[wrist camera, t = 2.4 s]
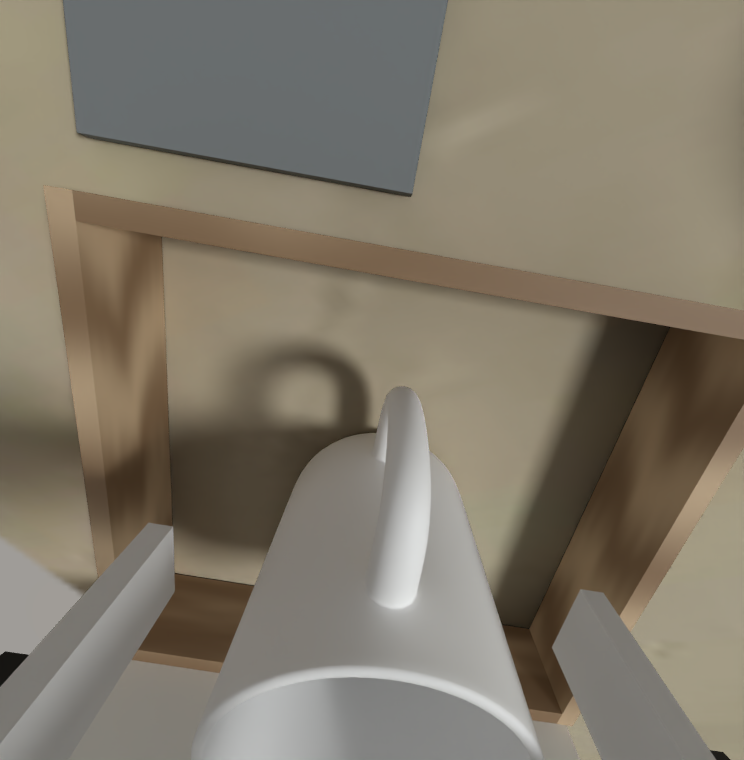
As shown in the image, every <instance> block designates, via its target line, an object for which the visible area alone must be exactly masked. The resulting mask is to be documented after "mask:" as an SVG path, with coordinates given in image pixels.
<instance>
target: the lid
mask: <svg viewBox="0 0 744 760" xmlns="http://www.w3.org/2000/svg"><path fill="white" fill-rule="evenodd" d="M218 675H219V673H215V672H208V671H201V670H195V669H188V668H182V667H175V666H168V665H162V664H155V663H148V662H142V661H135V660H131V661H130V663H129V665H128V666H127V668H126V669H125V671H124V672H123V674H122V676H121V677H120V679H119V680H118V682H117V684H116V685H115V687H114V688H113V690H112V691H111V693H110V695H109V696H108V698H107V699H106V701H105V702H104V704H103V706H102V707H101V709H100V710H99V712H98V714H97V715H96V717H95V718H94V720H93V721H92V723H91V725H90V726H89V728H88V729H87V731H86V732H85V734H84V736H83V737H82V739H81V740H80V742H79V744H78V745H77V747H76V748H75V750H74V751H73V753H72V755H71V756H70V758H69V759H68V760H191V748H192V743H193V738H194V736H195V733H196V730H197V728H198V725H199V723H200V720H201V718H202V715H203V713H204V710H205V708H206V705H207V703H208V700H209V698H210V695H211V693H212V690H213V688H214V685H215V683H216V680H217V678H218ZM532 721H533V724H534V728H535V731H536V734H537V737H538V740H539V743H540V746H541V750H542V753H543V756H544V760H580V759H579V756H578V754H577V751H576V748H575V746H574V743H573V741H572V738H571V736H570V733H569V730H568V728H567V725H560V724H554V723H547V722H541V721H534V720H532Z"/></svg>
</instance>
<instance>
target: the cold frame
mask: <svg viewBox="0 0 744 760" xmlns="http://www.w3.org/2000/svg"><path fill="white" fill-rule="evenodd" d="M43 186H44V194H45V201H46V208H47V215H48V222H49V229H50V237H51V244H52V251H53V258H54V265H55V273H56V280H57V287H58V294H59V301H60V308H61V316H62V323H63V330H64V337H65V344H66V351H67V359H68V366H69V373H70V380H71V387H72V395H73V402H74V409H75V416H76V423H77V430H78V438H79V445H80V452H81V459H82V466H83V474H84V481H85V488H86V495H87V502H88V509H89V517H90V524H91V531H92V538H93V545H94V553H95V560H96V567H97V574H98V578H99V577H100V576H101V575H102V574H103V573H104V572H105V570H106V569H107V568H108V567H109V566H110V565H111V564H112V563H113V562H114V560H115V559H116V558H117V557H118V556H119V555H120V554H121V553H122V552H123V550H124V549H125V548H126V547H127V546H128V545H129V544H130V543H131V542H132V541H133V539H134V538H135V537H136V536H137V535H138V534H139V533H140V532H141V531H142V529H143V528H144V527H145V526H146V525H147V524H148V523H154V524H160V525H167V526H173V524H172V497H171V471H170V444H169V417H168V391H167V364H166V337H165V310H164V284H163V257H162V237H168V238H174V239H179V240H185V241H190V242H196V243H202V244H207V245H213V246H219V247H224V248H230V249H235V250H241V251H247V252H252V253H258V254H264V255H269V256H275V257H281V258H286V259H292V260H297V261H303V262H309V263H314V264H320V265H326V266H331V267H337V268H343V269H348V270H354V271H359V272H365V273H371V274H376V275H382V276H388V277H393V278H399V279H405V280H410V281H416V282H421V283H427V284H433V285H438V286H444V287H450V288H455V289H461V290H466V291H472V292H478V293H483V294H489V295H495V296H500V297H506V298H512V299H517V300H523V301H528V302H534V303H540V304H545V305H551V306H557V307H562V308H568V309H574V310H579V311H585V312H590V313H596V314H602V315H607V316H613V317H619V318H624V319H630V320H635V321H641V322H647V323H652V324H658V325H664V326H669V327H670V329H669V331H668V333H667V335H666V337H665V340H664V342H663V344H662V346H661V348H660V350H659V352H658V355H657V357H656V359H655V361H654V363H653V365H652V367H651V370H650V372H649V374H648V376H647V378H646V380H645V382H644V385H643V387H642V389H641V391H640V393H639V395H638V397H637V400H636V402H635V404H634V406H633V408H632V410H631V412H630V415H629V417H628V419H627V421H626V423H625V425H624V427H623V430H622V432H621V434H620V436H619V438H618V440H617V442H616V445H615V447H614V449H613V451H612V453H611V455H610V457H609V460H608V462H607V464H606V466H605V468H604V470H603V472H602V475H601V477H600V479H599V481H598V483H597V485H596V487H595V490H594V492H593V494H592V496H591V498H590V500H589V502H588V504H587V507H586V509H585V511H584V513H583V515H582V517H581V519H580V522H579V524H578V526H577V528H576V530H575V532H574V534H573V537H572V539H571V541H570V543H569V545H568V547H567V549H566V552H565V554H564V556H563V558H562V560H561V562H560V564H559V567H558V569H557V571H556V573H555V575H554V577H553V579H552V582H551V584H550V586H549V588H548V590H547V592H546V594H545V597H544V599H543V601H542V603H541V605H540V607H539V609H538V612H537V614H536V616H535V618H534V620H533V622H532V624H531V627H530V629H525V628H519V627H512V626H506V625H502V627H503V630H504V633H505V637H506V640H507V643H508V646H509V649H510V652H511V655H512V658H513V662H514V665H515V668H516V671H517V674H518V677H519V680H520V684H521V687H522V690H523V693H524V696H525V699H526V702H527V706H528V709H529V712H530V715H531V718H532V720H534V721H541V722H547V723H554V724H560V725H567V726H573V725H574V723H575V722H576V720H577V718H578V717H579V715H580V713H581V712H580V710H579V707H578V705H577V703H576V701H575V698H574V696H573V694H572V692H571V689H570V687H569V685H568V683H567V680H566V678H565V676H564V674H563V671H562V669H561V667H560V665H559V662H558V660H557V658H556V656H555V653H554V651H553V649H552V646H553V644H554V642H555V640H556V638H557V636H558V634H559V632H560V630H561V628H562V626H563V624H564V622H565V620H566V618H567V615H568V613H569V611H570V609H571V607H572V605H573V603H574V601H575V599H576V597H577V595H578V593H579V591H580V589H583V590H589V591H596V592H602V593H604V594H605V596H606V597H607V599H608V600H609V602H610V603H611V605H612V606H613V608H614V609H615V611H616V612H617V614H618V615H619V617H620V618H621V620H622V621H623V622H624V624H625V625H626V627H627V628H628V630H629V631H630V632H631V630H632V629H633V627H634V625H635V624H636V622H637V621H638V619H639V617H640V616H641V614H642V612H643V611H644V609H645V608H646V606H647V604H648V603H649V601H650V599H651V598H652V596H653V595H654V593H655V591H656V590H657V588H658V586H659V585H660V583H661V582H662V580H663V578H664V577H665V575H666V573H667V572H668V570H669V568H670V567H671V565H672V564H673V562H674V560H675V559H676V557H677V555H678V554H679V552H680V551H681V549H682V547H683V546H684V544H685V542H686V541H687V539H688V538H689V536H690V534H691V533H692V531H693V529H694V528H695V526H696V525H697V523H698V521H699V520H700V518H701V516H702V515H703V513H704V511H705V510H706V508H707V507H708V505H709V503H710V502H711V500H712V498H713V497H714V495H715V494H716V492H717V490H718V489H719V487H720V485H721V484H722V482H723V481H724V479H725V477H726V476H727V474H728V472H729V471H730V469H731V468H732V466H733V464H734V463H735V461H736V459H737V458H738V456H739V455H740V453H741V451H742V450H743V448H744V311H743V310H738V309H732V308H727V307H721V306H715V305H710V304H704V303H699V302H693V301H687V300H682V299H676V298H671V297H665V296H660V295H654V294H648V293H643V292H637V291H632V290H626V289H621V288H615V287H609V286H604V285H598V284H593V283H587V282H582V281H576V280H570V279H565V278H559V277H554V276H548V275H543V274H537V273H531V272H526V271H520V270H515V269H509V268H504V267H498V266H492V265H487V264H481V263H476V262H470V261H465V260H459V259H453V258H448V257H442V256H437V255H431V254H426V253H420V252H414V251H409V250H403V249H398V248H392V247H386V246H381V245H375V244H370V243H364V242H359V241H353V240H347V239H342V238H336V237H331V236H325V235H320V234H314V233H308V232H303V231H297V230H292V229H286V228H281V227H275V226H269V225H264V224H258V223H253V222H247V221H242V220H236V219H230V218H225V217H219V216H214V215H208V214H203V213H197V212H191V211H186V210H180V209H175V208H169V207H164V206H158V205H152V204H147V203H141V202H136V201H130V200H125V199H119V198H113V197H108V196H102V195H97V194H91V193H85V192H80V191H74V190H69V189H63V188H58V187H52V186H46V185H43ZM174 577H175V592H174V594H173V595H172V597H171V598H170V600H169V601H168V603H167V605H166V606H165V608H164V609H163V611H162V612H161V614H160V616H159V617H158V619H157V620H156V622H155V624H154V625H153V627H152V628H151V630H150V631H149V633H148V635H147V636H146V638H145V639H144V641H143V642H142V644H141V646H140V647H139V649H138V650H137V652H136V654H135V655H134V657H133V658H132V660H135V661H142V662H148V663H155V664H162V665H168V666H175V667H182V668H188V669H195V670H201V671H208V672H215V673H220V670H221V668H222V665H223V663H224V660H225V658H226V655H227V653H228V650H229V648H230V645H231V643H232V640H233V638H234V635H235V633H236V630H237V628H238V625H239V623H240V620H241V618H242V615H243V613H244V610H245V608H246V606H247V603H248V601H249V598H250V596H251V593H252V591H253V588H254V586H250V585H244V584H237V583H231V582H224V581H218V580H212V579H205V578H199V577H193V576H186V575H180V574H174Z"/></svg>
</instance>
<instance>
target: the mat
mask: <svg viewBox="0 0 744 760" xmlns="http://www.w3.org/2000/svg"><path fill="white" fill-rule="evenodd" d="M447 3H448V0H63V5H64V15H65V24H66V34H67V43H68V53H69V62H70V72H71V81H72V91H73V100H74V110H75V119H76V129H77V133H80V134H82V135H84V136H87V137H89V138H93V139H99V140H104V141H109V142H115V143H120V144H126V145H131V146H137V147H142V148H148V149H153V150H159V151H164V152H170V153H175V154H181V155H186V156H192V157H197V158H202V159H208V160H213V161H219V162H224V163H230V164H235V165H241V166H246V167H252V168H257V169H263V170H268V171H274V172H279V173H284V174H290V175H295V176H301V177H306V178H312V179H317V180H323V181H328V182H334V183H339V184H345V185H350V186H356V187H361V188H366V189H372V190H377V191H383V192H388V193H394V194H399V195H405V196H410V197H411V195H412V192H413V187H414V181H415V176H416V170H417V165H418V160H419V154H420V149H421V143H422V138H423V133H424V127H425V122H426V116H427V111H428V105H429V100H430V95H431V89H432V84H433V78H434V73H435V68H436V62H437V57H438V51H439V46H440V41H441V35H442V30H443V24H444V19H445V13H446V8H447Z"/></svg>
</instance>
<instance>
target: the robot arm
mask: <svg viewBox="0 0 744 760" xmlns="http://www.w3.org/2000/svg"><path fill="white" fill-rule="evenodd" d="M174 592H175V577H174V537H173V526H167V525H160V524H154V523H148V524H147V525H146V526H145V527H144V528H143V529H142V531H141V532H140V533H139V534H138V535H137V536H136V537H135V538H134V539H133V541H132V542H131V543H130V544H129V545H128V546H127V547H126V548H125V549H124V550H123V552H122V553H121V554H120V555H119V556H118V557H117V558H116V559H115V560H114V562H113V563H112V564H111V565H110V566H109V567H108V568H107V569H106V570H105V572H104V573H103V574H102V575H101V576H100V577H99V578H98V579H97V580H96V581H95V583H94V584H93V585H92V586H91V587H90V588H89V589H88V590H87V591H86V593H85V594H84V595H83V596H82V597H81V598H80V599H79V601H77V603H76V604H75V605H74V606H73V607H72V608H71V609H70V610H69V611H68V612H67V614H66V615H65V616H64V617H63V618H62V619H61V620H60V621H59V623H58V624H57V625H56V626H55V627H54V628H53V629H52V630H51V631H50V632H49V634H48V635H47V636H46V637H45V638H44V639H43V640H42V641H41V642H40V644H39V645H38V646H37V647H36V648H35V649H34V650H33V652H32V653H31V654H30V655H26V654H19V653H12V652H4V653H3V654H1V655H0V760H68V759H69V758H70V756H71V755H72V753H73V751H74V750H75V748H76V747H77V745H78V744H79V742H80V740H81V739H82V737H83V736H84V734H85V732H86V731H87V729H88V728H89V726H90V725H91V723H92V721H93V720H94V718H95V717H96V715H97V714H98V712H99V710H100V709H101V707H102V706H103V704H104V702H105V701H106V699H107V698H108V696H109V695H110V693H111V691H112V690H113V688H114V687H115V685H116V684H117V682H118V680H119V679H120V677H121V676H122V674H123V672H124V671H125V669H126V668H127V666H128V665H129V663H130V661H131V660H132V658H133V657H134V655H135V654H136V652H137V650H138V649H139V647H140V646H141V644H142V642H143V641H144V639H145V638H146V636H147V635H148V633H149V631H150V630H151V628H152V627H153V625H154V624H155V622H156V620H157V619H158V617H159V616H160V614H161V612H162V611H163V609H164V608H165V606H166V605H167V603H168V601H169V600H170V598H171V597H172V595H173V594H174ZM552 649H553V651H554V653H555V656H556V658H557V660H558V662H559V665H560V667H561V669H562V671H563V674H564V676H565V678H566V680H567V683H568V685H569V687H570V689H571V692H572V694H573V696H574V698H575V701H576V703H577V705H578V707H579V710H580V712H581V714H582V716H583V719H584V721H585V723H586V725H587V728H588V730H589V732H590V734H591V737H592V739H593V741H594V743H595V746H596V748H597V750H598V752H599V755H600V757H601V759H602V760H730V759H729V758H728V757H727V756H726V755H725V754H724V753H723V752H718V751H711V750H709V748H708V747H707V745H706V744H705V742H704V741H703V739H702V738H701V736H700V735H699V734H698V732H697V731H696V729H695V728H694V726H693V725H692V723H691V722H690V720H689V719H688V717H687V716H686V714H685V713H684V711H683V710H682V708H681V707H680V705H679V704H678V702H677V701H676V699H675V698H674V696H673V695H672V694H671V692H670V691H669V689H668V688H667V686H666V685H665V683H664V682H663V680H662V679H661V677H660V676H659V674H658V673H657V671H656V670H655V668H654V667H653V665H652V664H651V662H650V661H649V659H648V658H647V657H646V655H645V654H644V652H643V651H642V649H641V648H640V646H639V645H638V643H637V642H636V640H635V639H634V637H633V636H632V634H631V633H630V631H629V630H628V628H627V627H626V625H625V624H624V622H623V621H622V620H621V618H620V617H619V615H618V614H617V612H616V611H615V609H614V608H613V606H612V605H611V603H610V602H609V600H608V599H607V597H606V596H605V594H604V593H602V592H596V591H589V590H583V589H580V591H579V593H578V595H577V597H576V599H575V601H574V603H573V605H572V607H571V609H570V611H569V613H568V615H567V618H566V620H565V622H564V624H563V626H562V628H561V630H560V632H559V634H558V636H557V638H556V640H555V642H554V644H553V646H552Z"/></svg>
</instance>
